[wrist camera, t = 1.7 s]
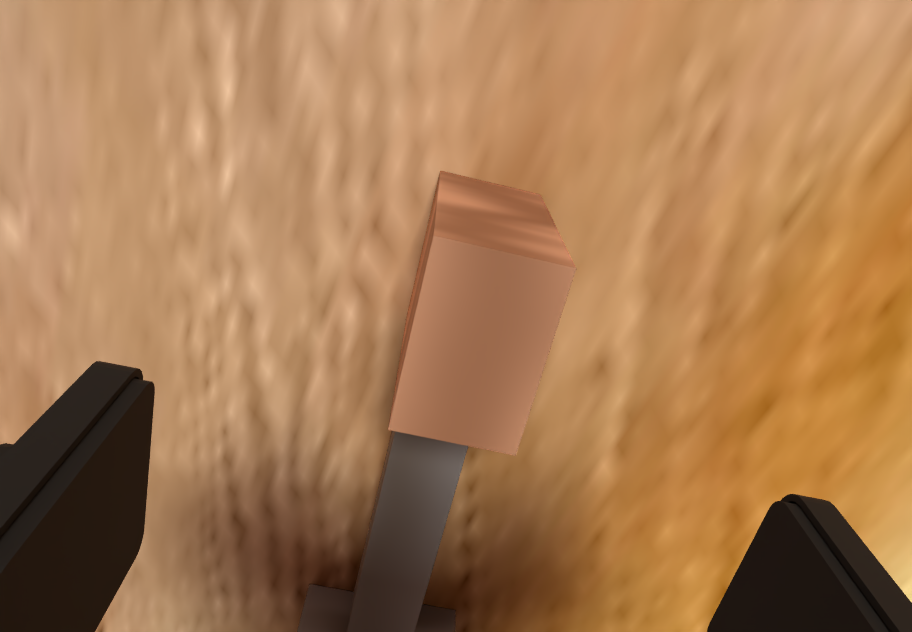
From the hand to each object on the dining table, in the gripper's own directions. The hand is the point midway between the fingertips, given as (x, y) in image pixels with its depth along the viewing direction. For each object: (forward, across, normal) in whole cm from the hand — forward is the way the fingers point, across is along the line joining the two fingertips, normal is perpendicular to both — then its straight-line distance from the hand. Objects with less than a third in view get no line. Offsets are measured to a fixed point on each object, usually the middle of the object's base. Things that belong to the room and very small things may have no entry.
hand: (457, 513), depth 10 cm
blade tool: (+13, -1, +7) cm, 15 cm away
